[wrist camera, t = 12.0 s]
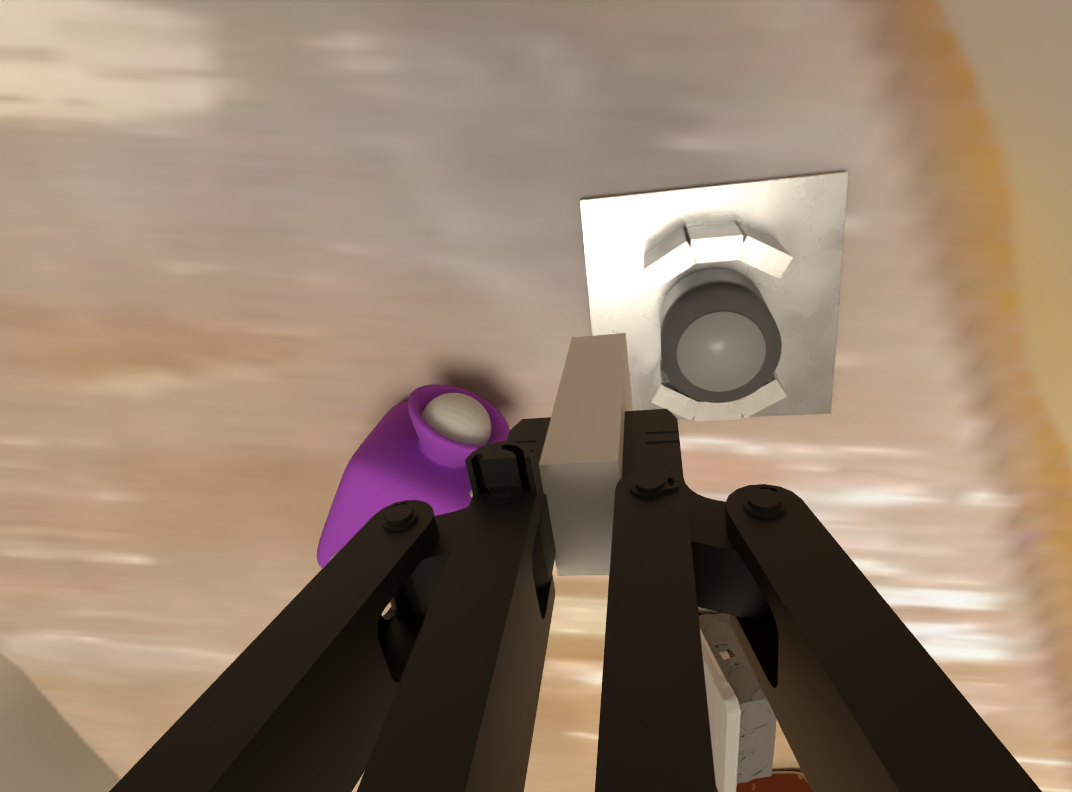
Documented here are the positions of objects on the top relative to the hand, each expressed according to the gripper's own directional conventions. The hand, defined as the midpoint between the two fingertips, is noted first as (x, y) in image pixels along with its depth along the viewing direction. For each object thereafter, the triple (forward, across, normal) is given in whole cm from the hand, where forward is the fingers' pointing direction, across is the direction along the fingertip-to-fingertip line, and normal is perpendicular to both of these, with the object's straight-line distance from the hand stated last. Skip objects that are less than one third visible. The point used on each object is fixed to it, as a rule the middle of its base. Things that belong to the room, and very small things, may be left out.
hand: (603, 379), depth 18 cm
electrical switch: (+20, +4, -32) cm, 38 cm away
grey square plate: (+21, +5, -6) cm, 22 cm away
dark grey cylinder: (+20, +5, -6) cm, 21 cm away
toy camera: (+21, -14, -14) cm, 29 cm away
